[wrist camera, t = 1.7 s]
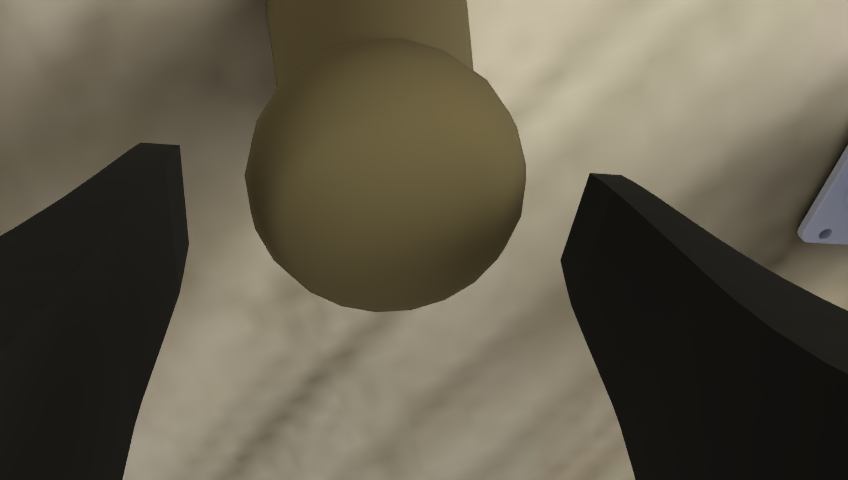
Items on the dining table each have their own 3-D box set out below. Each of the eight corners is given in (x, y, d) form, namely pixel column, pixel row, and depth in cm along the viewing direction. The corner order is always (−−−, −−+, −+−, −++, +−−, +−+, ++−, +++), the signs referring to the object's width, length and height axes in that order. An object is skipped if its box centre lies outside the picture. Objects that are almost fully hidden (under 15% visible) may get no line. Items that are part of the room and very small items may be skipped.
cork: (238, -71, 18) (146, 104, 9) (456, -109, 18) (570, 30, 9) (295, 125, 21) (268, 383, 13) (475, 93, 22) (570, 329, 13)
